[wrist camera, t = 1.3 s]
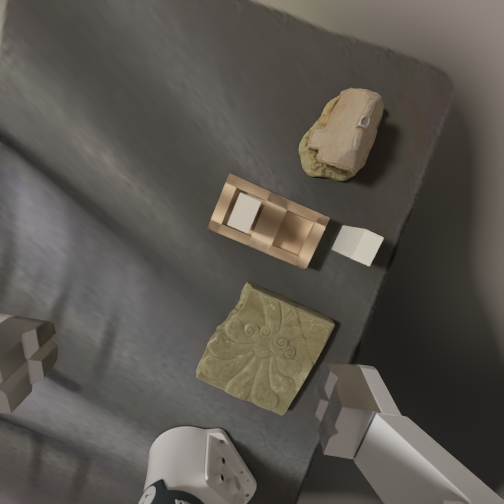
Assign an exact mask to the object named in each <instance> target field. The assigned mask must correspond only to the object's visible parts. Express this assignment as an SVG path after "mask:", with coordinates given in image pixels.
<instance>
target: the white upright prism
mask: <svg viewBox="0 0 504 504" xmlns="http://www.w3.org/2000/svg"><path fill="white" fill-rule="evenodd" d="M260 204H261V201H259V200H256V199H254V198H252V197H249V196H247V195H245V194H243V193H240V194H239V197H238V199H237V202H236V204H235V206H234V209H233V211H232V214H231V216H230V218H229V221H228V223H227V225H229V226H231V227H233V228H236V229H238V230H240V231H243V232H245V233H247V234H248V233H249V230H250V228H251V225H252V223H253V221H254V218H255V216H256V214H257V211H258V209H259V207H260Z"/></svg>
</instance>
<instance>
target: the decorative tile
mask: <svg viewBox="0 0 504 504" xmlns="http://www.w3.org/2000/svg"><path fill="white" fill-rule="evenodd" d="M334 326H335V324H334V322H333V321H332V319H331V318H329V317H327V316H325V315H323V314H321V313H318V312H316V311H314V310H312V309H310V308H307V307H305V306H303V305H300V304H298V303H296V302H293V301H291V300H289V299H287V298H285V297H283V296H281V295H279V294H276V293H274V292H272V291H269V290H267V289H265V288H263V287H261V286H258V285H256V284H254V283H251V282H247V283H246V284H245V286H244V287H243V289H242V293H241V296H240V301H239V302H238V304H237V305H236V306H235V308H234V309H233V310H232V311H231V312H230V313H229V315H228V317H227V319H226V320H225V321H224V322H223V323H222V324H220V325H219V326H218V327H217V329H216V332H215V333H214V334H213V335H212V337H211V338H210V340H209V342H208V344H207V348H206V350H205V352H204V354H203V356H202V358H201V360H200V362H199V364H198V366H197V369H196V370H197V371H196V377H197V378H198V379H200V380H202V381H204V382H206V383H209V384H211V385H213V386H215V387H218V388H220V389H223V390H225V391H226V392H227V393H229V394H231V395H233V396H235V397H237V398H239V399H241V400H247V401H250V402H252V403H254V404H256V405H257V406H259V407H261V408H264V409H267V410H271V411H273V412H275V413H277V414H280V415H284V414H285V412H286V411H287V409H288V407H289V406H290V404H291V402H292V401H293V399H294V398H295V396H296V394H297V393H298V391H299V390H300V388H301V386H302V385H303V383H304V381H305V379H306V378H307V376H308V374H309V372H310V371H311V369H312V367H313V365H314V364H315V362H316V360H317V359H318V357H319V355H320V353H321V351H322V349H323V347H324V346H325V344H326V342H327V340H328V338H329V336H330V334H331V332H332V330H333V328H334Z"/></svg>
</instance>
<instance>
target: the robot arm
mask: <svg viewBox="0 0 504 504" xmlns="http://www.w3.org/2000/svg"><path fill="white" fill-rule="evenodd" d="M55 333H56V332H55V327H54V324H53V323H51V322H49V321H44V320H38V319H32V318H26V317H20V316H12V315H6V314H0V413H9V414H11V413H12V412H13V411H14V410H15V409H16V408H17V407H18V406H19V405H20V404H21V403H22V402H23V400H24V399H25V398H26V397H27V396H28V395H29V394H30V393H31V392H32V384H34V383H36V382H38V381H40V380H42V379H44V378H45V377H46V376H47V375H48V373H49V372H50V371H51V370H52V368H53V366H54V364H55V362H56V360H57V356H58V346H57V344H56V343H55V342H54V341H53V340H52V337H53V336H54V334H55ZM320 373H321V378H320V379H318V380H317V381H316V383H315V387H314V392H313V407H314V412H315V415H316V417H317V418H318V419H319V420H320V421H321V424H320V426H319V429H318V431H319V436H320V440H321V445H322V449H323V454H325V455H331V456H337V457H344V458H349V459H355V460H354V462H355V463H356V465H357V466H358V467H359V469H360V470H361V472H362V473H363V474H364V476H365V477H366V479H367V480H368V481H369V483H370V484H371V486H372V487H373V488H374V490H375V491H376V493H377V494H378V495H379V497H380V498H381V500H382V501H383V502H384V504H504V500H503V499H501V498H500V497H499V496H498V495H497V494H496V493H494V492H493V491H492V490H491V489H490V488H489V487H488V486H487V485H485V484H484V483H483V482H482V481H481V480H480V479H478V478H477V477H476V476H475V475H474V474H473V473H471V472H470V471H469V470H468V469H467V468H466V467H464V466H463V465H462V464H461V463H460V462H459V461H458V460H456V459H455V458H454V457H453V456H452V455H451V454H449V453H448V452H447V451H446V450H445V449H444V448H442V447H441V446H440V445H439V444H438V443H437V442H435V441H434V440H433V439H432V438H431V437H430V436H429V435H427V434H426V433H425V432H424V431H423V430H422V429H420V428H419V427H418V426H417V425H416V424H414V423H413V422H412V421H411V420H410V419H409V418H408V417H405V416H401V414H400V412H399V410H398V408H397V407H396V405H395V403H394V401H393V399H392V397H391V395H390V394H389V392H388V390H387V388H386V386H385V384H384V382H383V381H382V379H381V377H380V375H379V373H378V371H377V370H376V369H375V368H374V367H372V366H364V365H354V364H346V363H339V362H331V361H324V362H323V363H322V365H321V368H320ZM221 440H223V441H221ZM256 487H257V482H256V480H255V478H254V477H253V475H252V474H251V472H250V471H249V469H248V467H247V466H246V464H245V463H244V461H243V459H242V458H241V456H240V455H239V453H238V452H237V450H236V448H235V447H234V445H233V444H232V442H231V440H230V439H229V437H228V436H227V434H226V433H225V431H224V430H223V429H220V428H214V429H201V428H197V427H191V426H183V427H176V428H173V429H170V430H168V431H166V432H164V433H163V434H161V435H160V436H159V437H158V438H157V439H156V440H155V441H154V443H153V444H152V446H151V449H150V452H149V463H148V471H147V477H146V482H145V487H144V491H143V494H142V496H141V498H140V500H139V503H138V504H247V503H248V501H249V500H250V499H251V498H252V496H253V495H254V493H255V491H256Z"/></svg>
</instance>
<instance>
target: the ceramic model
mask: <svg viewBox="0 0 504 504" xmlns="http://www.w3.org/2000/svg"><path fill="white" fill-rule="evenodd" d="M383 108H384V106H383V103H382V98H381V96H380V95H379V94H377V93H375V92H372V91H370V90H366V89H353V88H350V89H347V90H343V91H342V92H341V93H340V95H339V96H338V97H336V98H334V99H332V100H331V101H329V102H328V103H327V105H326V106H325V108H324V110H323V112H322V115H321V117H320V118H319V119H318V120H317V121H316V123H315V124H314V125H313V126H312V127H311V128H310V130H309V131H308V132H307V133H306V134H305V135H304V137H303V139H302V140H301V142H300V144H299V155H300V159H301V164H302V167H303V169H304V171H305V172H306V173H307V174H308V175H309V176H311V177H328V178H331V179H334V180H337V181H345V180H347V179H349V178H350V177H353V176H354V175H355V174H356V173H357V171H359V170H360V169H361V168H362V167H363V166H364V165H365V162H366V160H367V158H368V155H369V152H370V149H371V147H372V146H373V143H374V140H375V138H376V134H377V129H378V126H379V123H380V121H381V118H382V115H383Z"/></svg>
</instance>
